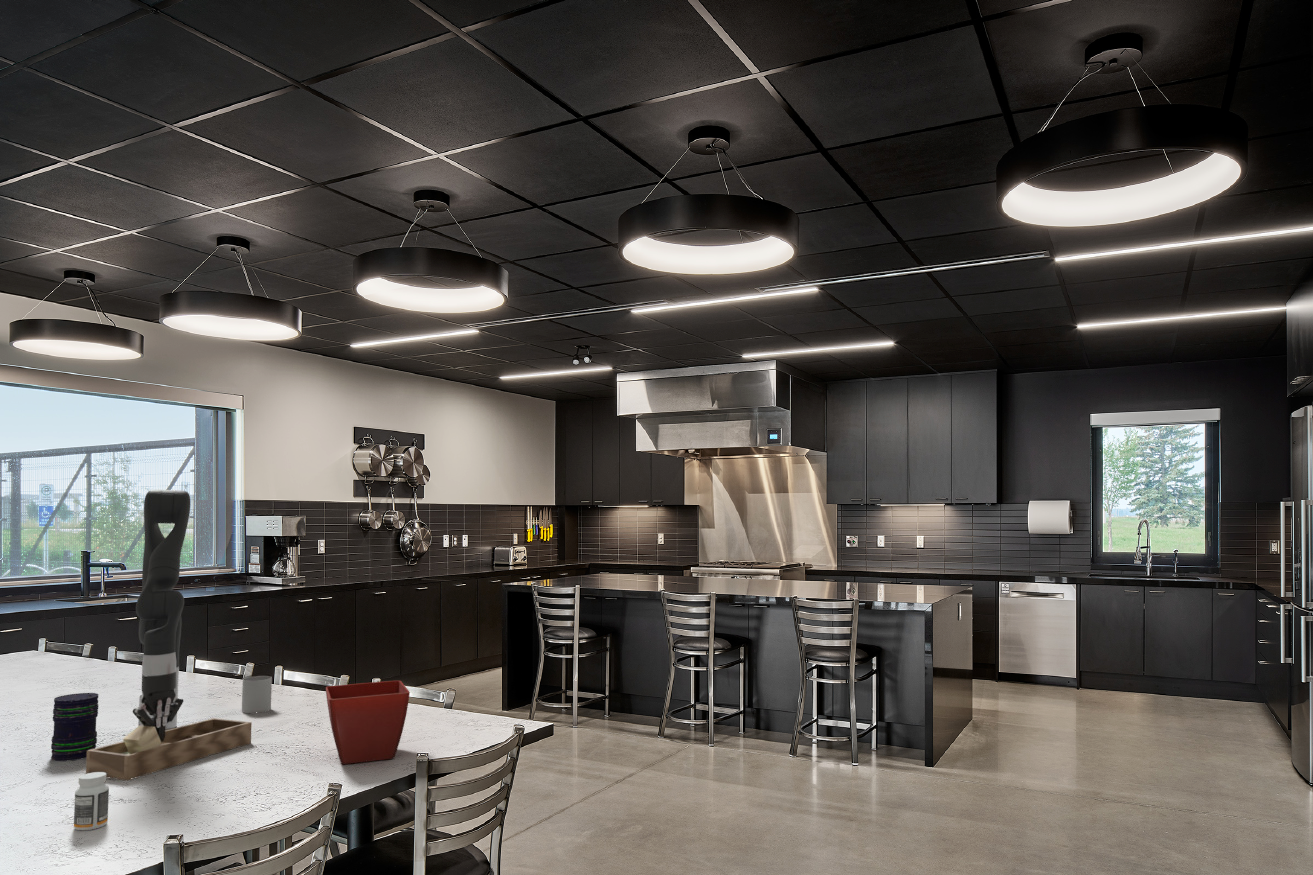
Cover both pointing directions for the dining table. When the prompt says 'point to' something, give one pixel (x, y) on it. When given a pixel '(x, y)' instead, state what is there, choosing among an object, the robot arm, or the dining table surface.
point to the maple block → (142, 739)
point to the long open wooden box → (170, 749)
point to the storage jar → (74, 726)
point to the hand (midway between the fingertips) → (157, 741)
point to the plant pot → (367, 719)
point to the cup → (256, 694)
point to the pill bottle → (91, 802)
